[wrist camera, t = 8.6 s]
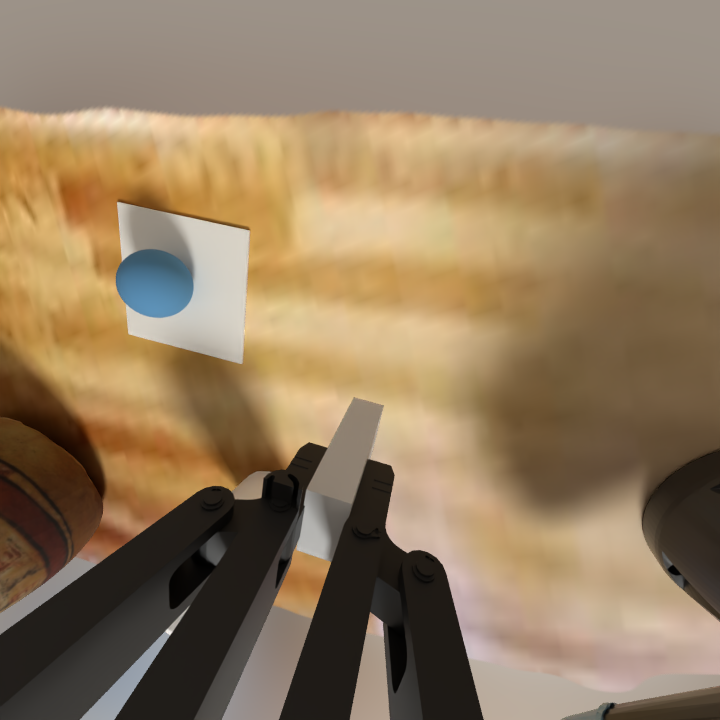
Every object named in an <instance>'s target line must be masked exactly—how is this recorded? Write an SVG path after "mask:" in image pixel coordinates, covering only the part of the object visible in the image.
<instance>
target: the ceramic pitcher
mask: <svg viewBox="0 0 720 720" xmlns="http://www.w3.org/2000/svg"><path fill="white" fill-rule="evenodd" d="M102 514H103V502H102V499H101V496H100V494H99V493H98V491H97V489H96V487H95V486H94V484H93V483H92V481H91V480H90V478H89V477H88V475H87V473H86V471H85V469H84V468H83V466H82V465H81V464H80V463H79V462H78V461H77V460H76V459H75V458H74V457H73V456H72V455H70V454H69V453H68V452H67V451H66V450H64V449H63V448H62V447H60V446H58V445H57V444H55V443H54V442H52V441H51V440H50V439H49V438H47V437H46V436H45V435H43V434H42V433H40V432H39V431H37V430H35V429H32V428H30V427H28V426H26V425H23V424H22V422H21V421H17V420H13V419H10V418H6V417H0V613H1V612H3V611H4V610H6V609H7V608H9V607H11V606H12V605H14V604H15V603H17V602H18V601H20V600H21V599H23V598H24V597H26V596H27V595H29V594H30V593H31V592H33V591H34V590H36V589H37V588H38V587H40V586H41V585H43V584H44V583H45V582H46V581H48V580H49V579H50V578H51V577H53V576H54V575H55V574H56V573H58V572H59V571H60V570H61V569H62V568H63V567H65V566H66V565H67V564H68V563H69V562H70V561H71V560H72V559H73V558H74V557H75V556H76V555H77V554H78V553H79V551H80V550H81V549H82V548H83V547H84V546H85V545H86V543H87V542H88V541H89V540H90V538H91V537H92V536H93V534H94V533H95V531H96V529H97V528H98V526H99V524H100V521H101V518H102Z"/></svg>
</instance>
